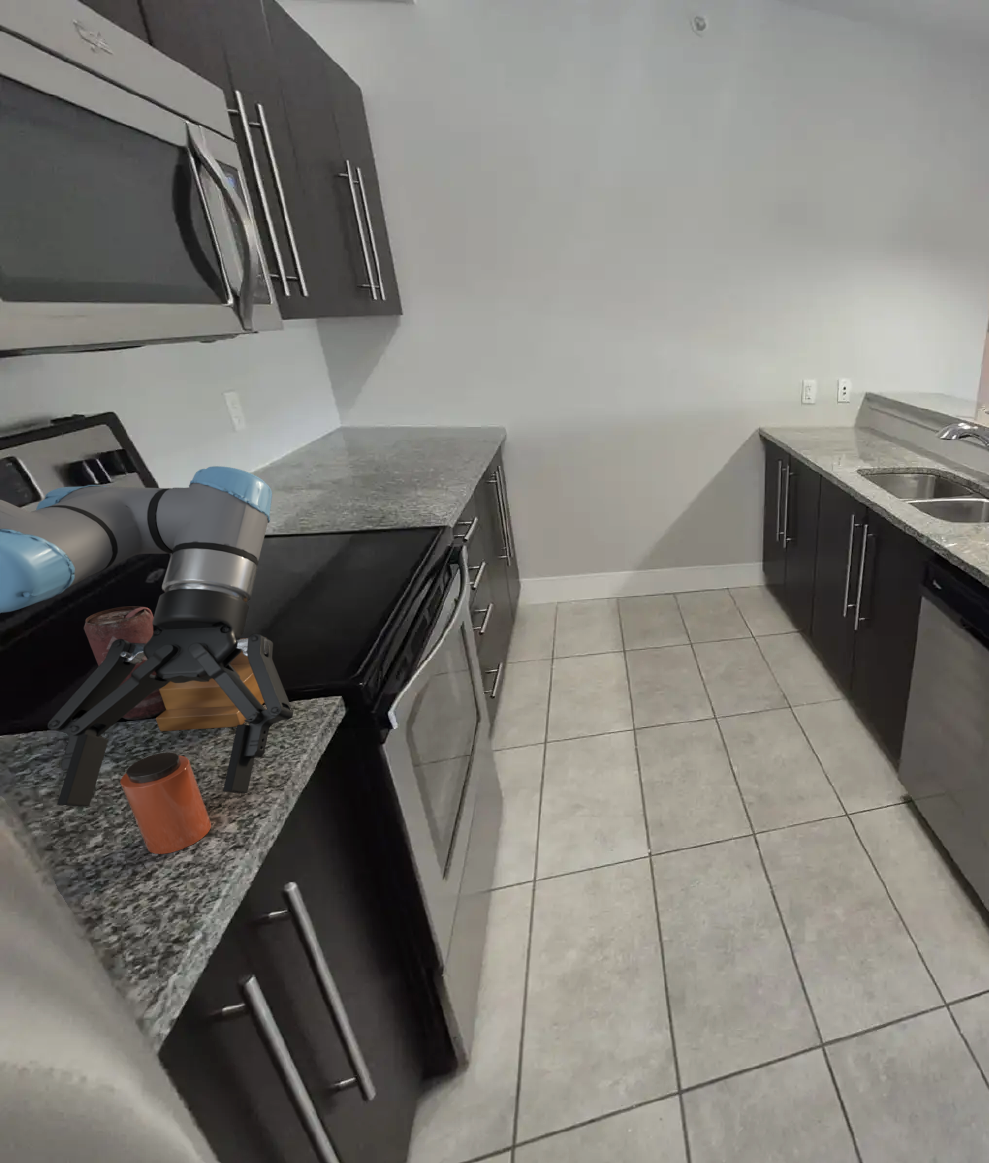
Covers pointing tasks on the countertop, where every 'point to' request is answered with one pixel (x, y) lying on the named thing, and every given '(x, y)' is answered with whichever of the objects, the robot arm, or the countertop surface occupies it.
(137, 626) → the can
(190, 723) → the wooden stair steps
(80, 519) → the robot arm
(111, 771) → the countertop surface
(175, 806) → the spice jar
